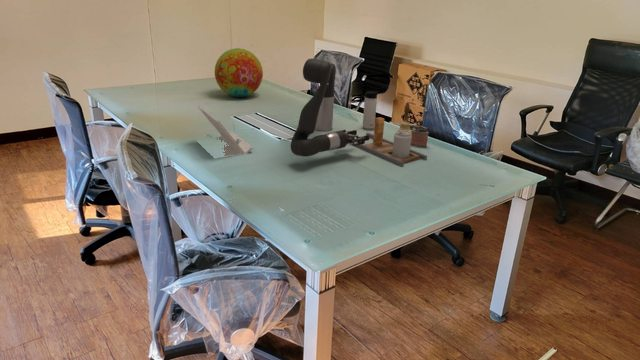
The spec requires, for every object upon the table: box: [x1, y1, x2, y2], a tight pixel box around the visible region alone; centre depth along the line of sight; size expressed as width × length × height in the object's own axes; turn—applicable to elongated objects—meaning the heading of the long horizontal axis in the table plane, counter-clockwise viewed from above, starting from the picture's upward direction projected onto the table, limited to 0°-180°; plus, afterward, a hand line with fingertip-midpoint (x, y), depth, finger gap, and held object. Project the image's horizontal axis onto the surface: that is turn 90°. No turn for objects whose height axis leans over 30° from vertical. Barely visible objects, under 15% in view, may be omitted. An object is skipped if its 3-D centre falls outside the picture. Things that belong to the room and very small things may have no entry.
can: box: [392, 129, 412, 159], centre depth 200 cm, size 8×8×12 cm
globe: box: [214, 47, 264, 98], centre depth 289 cm, size 30×30×30 cm
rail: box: [349, 132, 428, 167], centre depth 210 cm, size 38×16×2 cm, turn 37°
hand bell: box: [398, 102, 412, 134], centre depth 233 cm, size 8×8×16 cm
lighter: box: [411, 124, 430, 149], centre depth 216 cm, size 8×3×10 cm, turn 71°
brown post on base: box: [364, 116, 421, 164], centre depth 204 cm, size 24×12×14 cm, turn 37°
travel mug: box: [361, 90, 379, 131], centre depth 237 cm, size 6×7×20 cm
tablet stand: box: [197, 105, 254, 157], centre depth 203 cm, size 18×25×17 cm
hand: (362, 134), depth 205 cm, fingers open, 8 cm apart
